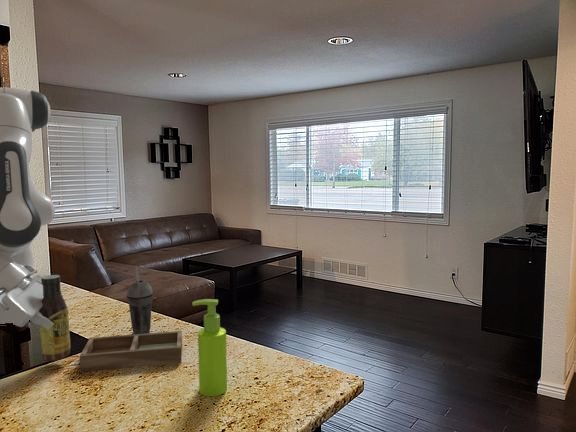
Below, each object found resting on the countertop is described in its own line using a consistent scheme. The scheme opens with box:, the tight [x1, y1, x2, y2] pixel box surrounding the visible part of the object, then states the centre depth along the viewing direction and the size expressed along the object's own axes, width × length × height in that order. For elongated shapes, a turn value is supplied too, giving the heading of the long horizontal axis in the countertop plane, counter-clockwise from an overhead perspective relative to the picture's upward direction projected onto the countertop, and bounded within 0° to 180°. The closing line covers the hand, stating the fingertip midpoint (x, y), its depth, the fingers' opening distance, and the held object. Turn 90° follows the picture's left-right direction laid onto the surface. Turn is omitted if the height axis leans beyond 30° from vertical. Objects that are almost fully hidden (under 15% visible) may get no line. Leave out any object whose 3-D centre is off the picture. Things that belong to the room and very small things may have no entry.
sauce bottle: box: [39, 274, 71, 362], centre depth 106 cm, size 7×6×20 cm
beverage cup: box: [126, 266, 154, 335], centre depth 126 cm, size 7×7×20 cm
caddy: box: [79, 330, 183, 373], centre depth 111 cm, size 11×23×4 cm, turn 102°
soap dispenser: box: [191, 298, 228, 397], centre depth 95 cm, size 6×7×20 cm
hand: (56, 320), depth 107 cm, fingers closed on sauce bottle, 6 cm apart
